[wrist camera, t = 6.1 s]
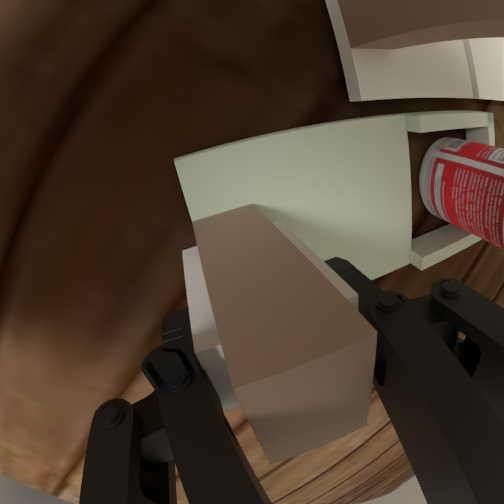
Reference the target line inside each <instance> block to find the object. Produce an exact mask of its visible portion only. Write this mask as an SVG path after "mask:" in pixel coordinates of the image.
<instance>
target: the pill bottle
mask: <svg viewBox="0 0 504 504" xmlns="http://www.w3.org/2000/svg"><path fill="white" fill-rule="evenodd" d="M419 188H420V194H421V198H422V200H423V203H424V205H425V207H426V208H427V209H428V211H429V212H430V213H432V214H433V215H435V216H436V217H438V218H440V219H443V220H445V221H447V222H449V223H451V224H453V225H455V226H457V227H459V228H461V229H463V230H466V231H468V232H470V233H472V234H474V235H476V236H477V237H479V238H482V239H483V240H485V241H487V242H489V243H491V244H493V245H495V246H496V247H498V248H500V249H502V250H504V149H503V148H499V147H495V146H491V145H486V144H482V143H477V142H473V141H468V140H462V139H458V138H451V137H444V138H441V139H438V140H437V141H435V142H434V143H433V144H432V145H431V146H430V147H429V149H428V150H427V152H426V154H425V156H424V158H423V161H422V164H421V168H420V174H419Z"/></svg>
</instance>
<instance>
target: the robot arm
mask: <svg viewBox="0 0 504 504" xmlns="http://www.w3.org/2000/svg"><path fill="white" fill-rule="evenodd" d="M272 223H273V224H274V225H275V226H276V227H277V228H278V229H279V230H280V231H281V232H282V233H283V234H284V235H285V236H286V237H287V238H288V239H289V240H290V241H291V242H292V243H293V244H294V245H295V246H296V247H297V248H298V249H299V250H300V251H301V252H302V253H303V254H304V255H305V256H306V257H307V258H308V259H309V260H310V261H311V262H312V263H313V264H314V266H315V267H316V268H317V269H318V270H319V271H320V272H321V273H322V274H323V275H324V276H325V277H326V278H327V279H328V280H329V281H330V282H331V283H332V284H333V285H334V286H335V287H336V288H337V289H338V290H339V291H340V292H341V294H342V295H343V296H344V297H345V298H346V299H347V300H348V301H349V302H350V303H351V304H352V305H353V306H354V307H355V308H356V309H357V310H358V312H359V313H360V314H361V315H362V316H363V317H364V318H365V319H366V320H367V321H368V322H369V323H370V324H371V325H372V327H373V328H374V329H375V330H376V331H377V344H376V356H375V366H374V375H373V385H374V387H375V389H376V391H377V393H378V395H379V397H380V399H381V401H382V403H383V405H384V407H385V409H386V411H387V414H388V416H389V418H390V420H391V422H392V424H393V426H394V428H395V431H396V433H397V435H398V437H399V439H400V441H401V444H402V446H403V448H404V450H405V452H406V455H407V457H408V459H409V461H410V464H411V466H412V468H413V471H414V473H415V475H416V477H417V480H418V482H419V484H420V487H421V489H422V492H423V494H424V496H425V499H426V501H427V504H504V308H502V307H501V306H499V305H498V304H496V303H495V302H493V301H491V300H490V299H488V298H487V297H485V296H483V295H482V294H480V293H479V292H477V291H475V290H474V289H472V288H470V287H469V286H467V285H465V284H464V283H462V282H460V281H458V280H455V279H449V278H447V279H440V280H438V281H435V282H434V283H433V284H432V286H431V290H430V295H428V296H423V297H418V298H413V299H408V298H407V297H406V296H405V295H403V294H402V293H399V292H396V291H383V290H382V289H381V288H379V287H378V286H377V285H376V284H375V283H374V282H372V281H371V280H370V279H369V278H368V277H367V276H365V275H364V274H362V272H361V271H360V270H358V269H357V268H355V266H354V265H352V264H351V263H350V262H349V261H348V260H345V259H342V258H339V257H334V258H331V259H328V260H325V261H323V260H322V259H321V258H320V257H319V256H318V255H317V254H316V253H314V252H313V251H312V250H311V249H310V248H309V247H308V246H307V245H306V244H305V243H304V242H303V241H302V240H301V239H299V238H298V237H297V236H296V235H295V234H294V233H293V232H292V231H291V230H290V229H289V228H287V227H286V226H285V225H284V224H283V223H282V222H281V221H280V220H279V221H276V222H272ZM182 255H183V265H184V275H185V284H186V292H187V300H188V307H187V308H184V309H181V310H177V311H174V312H171V313H168V314H166V316H165V318H164V320H163V322H162V345H161V346H159V347H157V348H155V349H153V350H152V351H151V352H150V353H149V354H148V355H147V356H146V357H145V359H144V361H143V363H142V371H143V373H144V374H145V376H146V377H147V379H148V380H149V382H150V383H151V385H152V386H153V387H154V389H155V390H154V391H153V392H152V393H151V394H150V395H148V396H147V397H145V398H143V399H141V400H140V401H138V402H136V403H134V404H132V405H131V404H130V403H129V402H128V401H126V400H124V399H116V398H115V399H112V400H108V401H107V402H105V403H103V404H102V405H101V406H100V407H99V408H98V409H97V410H96V411H95V414H94V416H93V419H92V424H91V429H90V434H89V439H88V445H87V450H86V456H85V463H84V469H83V476H82V484H81V492H80V501H79V504H177V496H176V476H175V464H176V467H177V470H178V473H179V476H180V479H181V482H182V485H183V488H184V491H185V493H186V496H187V499H188V502H189V504H272V503H271V501H270V499H269V498H268V496H267V494H266V493H265V491H264V489H263V487H262V486H261V484H260V482H259V480H258V478H257V477H256V475H255V473H254V471H253V469H252V467H251V466H250V464H249V462H248V460H247V458H246V456H245V454H244V452H243V450H242V448H241V446H240V444H239V442H238V441H237V439H236V437H235V435H234V433H233V430H232V428H231V426H230V424H229V422H228V421H227V419H226V417H225V415H224V412H223V408H224V410H228V409H231V408H234V407H238V406H241V404H240V402H239V400H238V398H237V396H236V394H235V391H234V389H233V386H232V383H231V379H230V376H229V372H228V368H227V365H226V361H225V357H224V354H223V350H222V346H221V342H220V339H219V335H218V331H217V327H216V323H215V319H214V315H213V311H212V307H211V303H210V299H209V295H208V291H207V287H206V282H205V278H204V274H203V270H202V265H201V261H200V256H199V252H198V247H197V246H195V247H192V248H189V249H186V250H183V251H182ZM459 332H462V333H463V334H464V335H466V338H465V340H462V339H460V338H458V336H459ZM222 406H223V408H222Z"/></svg>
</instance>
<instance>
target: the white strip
mask: <svg viewBox="0 0 504 504" xmlns="http://www.w3.org/2000/svg"><path fill="white" fill-rule="evenodd" d="M462 40H463V44H464V48H465V53H466V57H467V62H468V67H469V73H470V79H471V85H472V92H473V98H475V99H488V100H499V101H504V37H493V38H474V39H462Z"/></svg>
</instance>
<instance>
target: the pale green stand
mask: <svg viewBox="0 0 504 504" xmlns="http://www.w3.org/2000/svg"><path fill="white" fill-rule="evenodd" d="M462 128H465V131H466V140H468V141H473V142H477V143H482V144H486V145H491V146H495V133H494V117H493V113H489V112H481V111H474V110H447V111H425V112H410V113H398V114H387V115H378V116H369V117H361V118H353V119H346V120H339V121H333V122H326V123H320V124H314V125H309V126H303V127H298V128H293V129H288V130H283V131H278V132H273V133H268V134H264V135H259V136H255V137H251V138H247V139H242V140H238V141H234V142H230V143H226V144H223V145H219V146H215V147H211V148H208V149H204V150H201V151H197V152H194V153H190V154H187V155H184V156H180V157H177V158H174V163H175V166H176V170H177V173H178V177H179V180H180V184H181V187H182V190H183V194H184V197H185V200H186V204H187V207H188V210H189V214H190V217H191V220H192V224H193V229H194V234H195V238H196V243H197V247H198V252H199V256H200V261H201V265H202V270H203V274H204V278H205V282H206V287H207V291H208V295H209V299H210V303H211V307H212V311H213V315H214V319H215V323H216V327H217V331H218V335H219V339H220V342H221V346H222V350H223V354H224V357H225V361H226V365H227V368H228V372H229V376H230V379H231V383H232V386H233V389H234V391H235V394H236V396H237V398H238V400H239V402H240V404H241V406H242V409H243V411H244V413H245V415H246V417H247V419H248V421H249V423H250V425H251V427H252V429H253V431H254V433H255V435H256V437H257V439H258V441H259V443H260V445H261V447H262V449H263V451H264V453H265V455H266V457H267V459H268V461H269V463H270V464H273V463H276V462H279V461H282V460H285V459H288V458H291V457H294V456H296V455H299V454H302V453H304V452H307V451H310V450H312V449H315V448H317V447H320V446H322V445H324V444H327V443H329V442H331V441H334V440H336V439H338V438H340V437H343V436H345V435H347V434H349V433H351V432H353V431H355V430H357V429H359V428H361V427H363V426H365V425H366V424H367V418H368V412H369V406H370V399H371V391H372V384H373V375H374V366H375V356H376V344H377V331H376V330H375V329H374V328H373V327H372V325H371V324H370V323H369V322H368V321H367V320H366V319H365V318H364V317H363V316H362V315H361V314H360V313H359V312H358V310H357V309H356V308H355V307H354V306H353V305H352V304H351V303H350V302H349V301H348V300H347V299H346V298H345V297H344V296H343V295H342V294H341V292H340V291H339V290H338V289H337V288H336V287H335V286H334V285H333V284H332V283H331V282H330V281H329V280H328V279H327V278H326V277H325V276H324V275H323V274H322V273H321V272H320V271H319V270H318V269H317V268H316V267H315V266H314V264H313V263H312V262H311V261H310V260H309V259H308V258H307V257H306V256H305V255H304V254H303V253H302V252H301V251H300V250H299V249H298V248H297V247H296V246H295V245H294V244H293V243H292V242H291V241H290V240H289V239H288V238H287V237H286V236H285V235H284V234H283V233H282V232H281V231H280V230H279V229H278V228H277V227H276V226H275V225H274V224H273V223H272V222H276V221H279V220H280V221H281V222H282V223H283V224H284V225H285V226H286V227H287V228H289V229H290V230H291V231H292V232H293V233H294V234H295V235H296V236H297V237H298V238H299V239H301V240H302V241H303V242H304V243H305V244H306V245H307V246H308V247H309V248H310V249H311V250H312V251H313V252H314V253H316V254H317V255H318V256H319V257H320V258H321V259H322V260H323V261H325V260H328V259H331V258H334V257H339V258H342V259H345V260H348V261H349V262H350V263H351V264H352V265H354V266H355V268H357V269H358V270H360V271H361V272H362V274H364V275H365V276H367V277H368V278H369V279H370V280H373V279H376V278H378V277H380V276H383V275H385V274H387V273H390V272H392V271H394V270H397V269H399V268H401V267H403V266H406V265H408V264H410V263H411V264H412V265H414V266H415V267H417V268H418V269H420V270H421V271H422V270H424V269H426V268H428V267H430V266H432V265H434V264H436V263H438V262H440V261H442V260H444V259H446V258H448V257H450V256H452V255H454V254H456V253H458V252H459V251H461V250H463V249H465V248H467V247H469V246H471V245H472V244H474V243H476V242H478V241H480V240H482V238H479V237H477V236H476V235H474V234H472V233H470V232H468V231H466V230H463V229H461V228H459V227H457V226H455V225H453V224H451V223H450V224H448V225H446V226H443V227H441V228H439V229H436V230H434V231H431V232H429V233H427V234H424V235H422V236H419V237H417V238H414V239H412V195H411V172H410V157H409V145H408V135H407V131H410V132H417V133H425V132H433V131H442V130H451V129H462Z"/></svg>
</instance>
